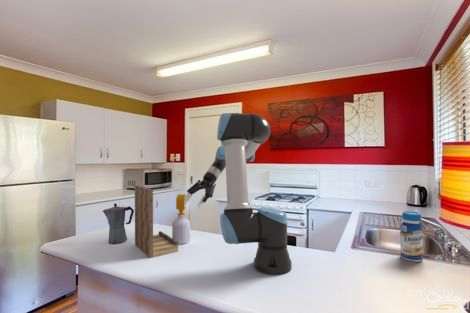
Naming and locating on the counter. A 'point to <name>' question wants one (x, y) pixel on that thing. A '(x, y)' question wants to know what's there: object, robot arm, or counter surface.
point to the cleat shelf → (149, 227)
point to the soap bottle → (181, 223)
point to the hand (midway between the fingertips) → (191, 205)
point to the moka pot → (117, 223)
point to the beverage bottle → (411, 236)
